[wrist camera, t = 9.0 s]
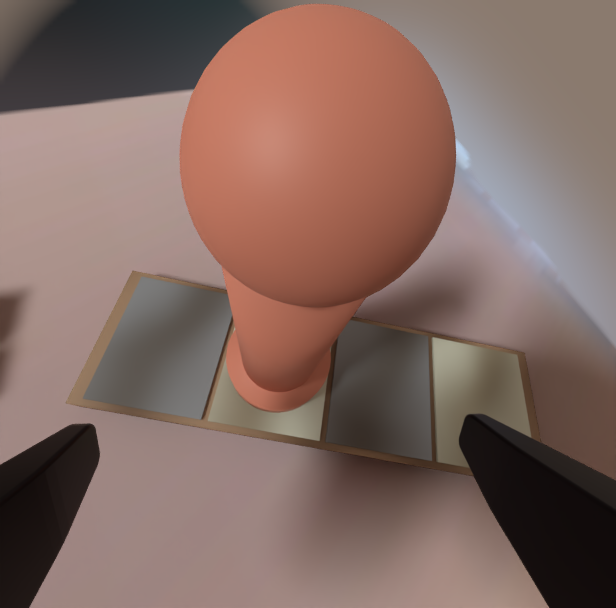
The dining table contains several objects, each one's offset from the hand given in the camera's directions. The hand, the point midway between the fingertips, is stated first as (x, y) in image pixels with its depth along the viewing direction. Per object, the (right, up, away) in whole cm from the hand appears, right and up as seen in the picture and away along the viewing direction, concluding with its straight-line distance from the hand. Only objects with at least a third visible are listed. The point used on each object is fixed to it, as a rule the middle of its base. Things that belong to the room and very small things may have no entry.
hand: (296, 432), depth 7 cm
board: (+1, -1, +9) cm, 9 cm away
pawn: (-1, 0, +8) cm, 8 cm away
